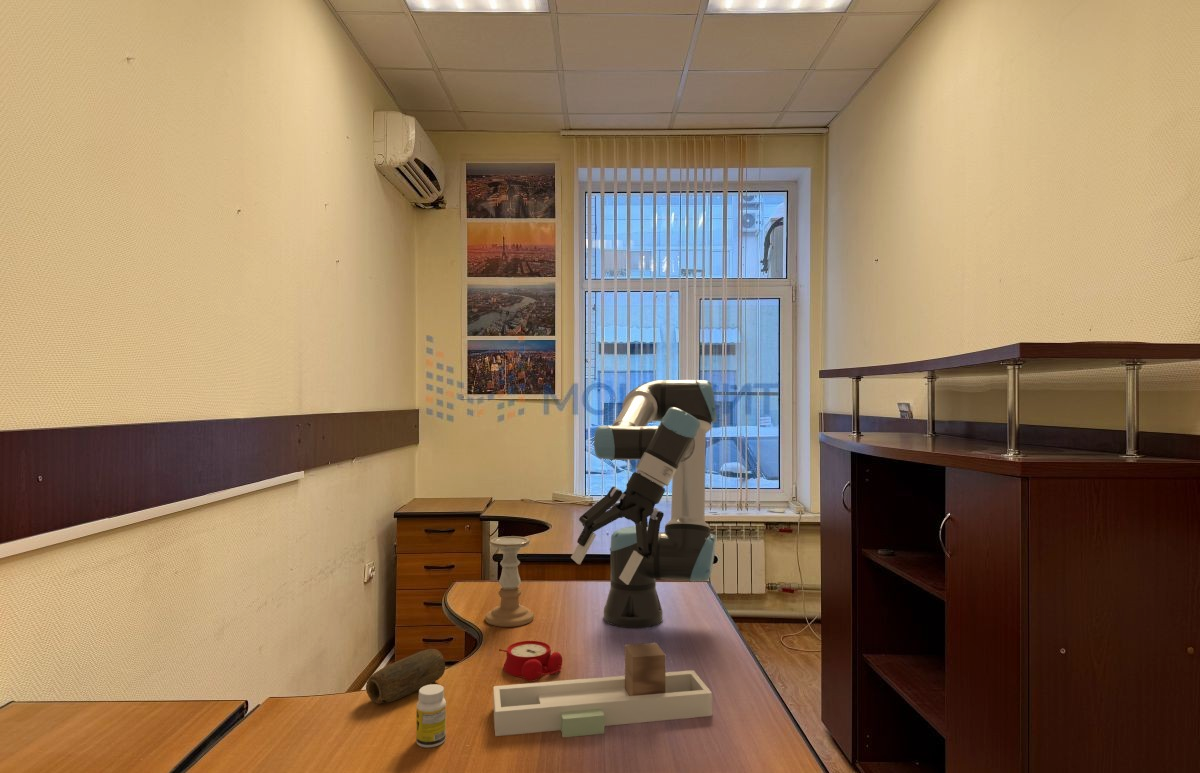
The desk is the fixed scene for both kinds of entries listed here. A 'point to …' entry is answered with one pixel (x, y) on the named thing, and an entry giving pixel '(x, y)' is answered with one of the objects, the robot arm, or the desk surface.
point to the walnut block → (644, 669)
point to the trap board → (596, 702)
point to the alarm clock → (531, 660)
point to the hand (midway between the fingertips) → (599, 571)
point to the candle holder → (509, 585)
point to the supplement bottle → (431, 716)
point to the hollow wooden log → (405, 676)
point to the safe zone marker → (582, 722)
